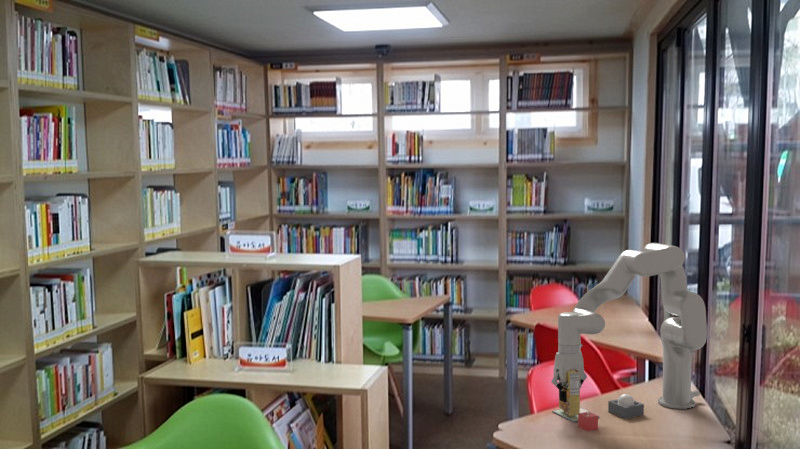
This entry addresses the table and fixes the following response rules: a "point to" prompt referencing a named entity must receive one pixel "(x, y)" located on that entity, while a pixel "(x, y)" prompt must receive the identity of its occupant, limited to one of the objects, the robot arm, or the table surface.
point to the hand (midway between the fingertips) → (569, 399)
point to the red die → (588, 421)
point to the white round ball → (625, 400)
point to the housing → (625, 409)
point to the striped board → (566, 416)
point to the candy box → (572, 394)
